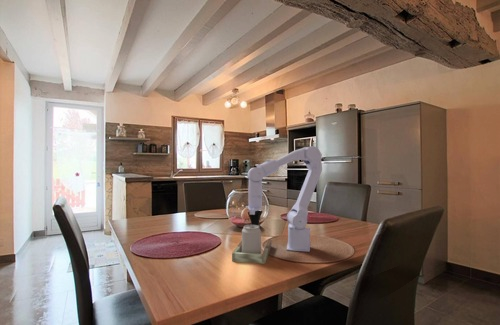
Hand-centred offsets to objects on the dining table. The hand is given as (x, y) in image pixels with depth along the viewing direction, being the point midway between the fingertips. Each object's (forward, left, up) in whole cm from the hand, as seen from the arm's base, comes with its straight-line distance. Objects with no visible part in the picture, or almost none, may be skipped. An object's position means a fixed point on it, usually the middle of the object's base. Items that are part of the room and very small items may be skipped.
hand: (255, 228), depth 111 cm
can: (0, +8, -9) cm, 12 cm away
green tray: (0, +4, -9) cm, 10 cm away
